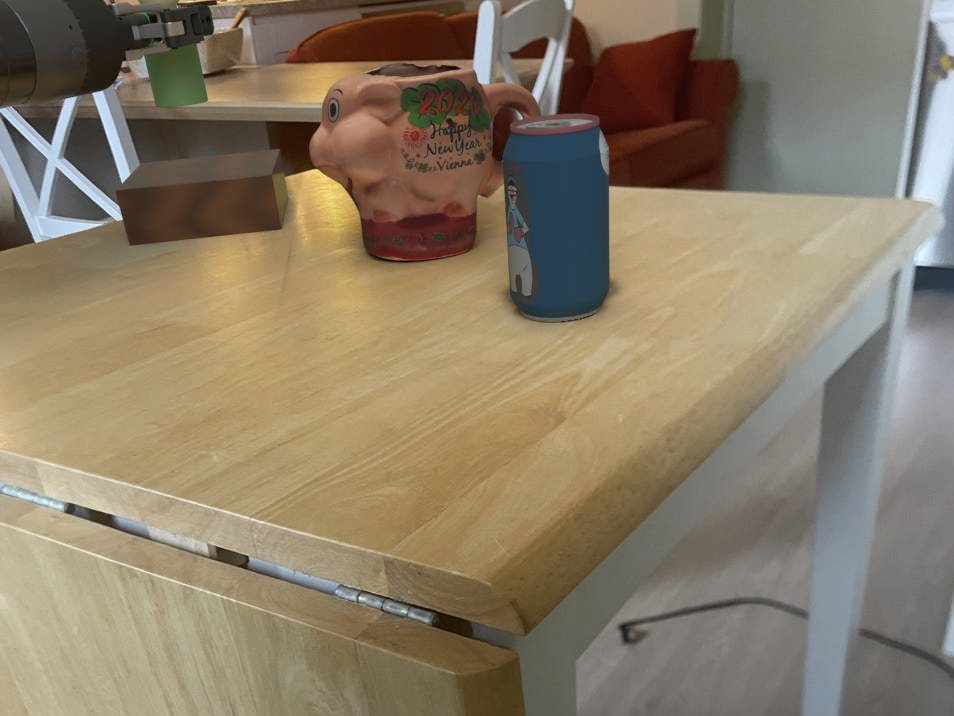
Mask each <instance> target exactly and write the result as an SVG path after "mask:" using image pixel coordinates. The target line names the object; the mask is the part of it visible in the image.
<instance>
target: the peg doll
mask: <svg viewBox="0 0 954 716" xmlns="http://www.w3.org/2000/svg"><path fill="white" fill-rule="evenodd" d="M137 2H138V3H139V4H147V3H160V4H161V5H162V6H163V8H164V9H168V8H175V7H174V6H176V5H179V3H180V0H137ZM135 14H144V15H145V16H146V17H147V18H148V20H149V16H148V15H147V13H145V12H139V13H135ZM149 24H150V20H149ZM153 42H154V38H152V42H151V43H150V44H149V45H148V46H151V45H152V44H153ZM143 58H144V62H145V66H146V71H147V74H148V79H149V83H150V89H151V92H152V97H153V100H154V105H155V107H156V108H178V107H179V108H180V107H186V106H187V107H188V106H193V105H200V104H203V103H207V102H208V101H209V97H208V93H207V87H206V82H205V77H204V72H203V68H202V63H201V58H200V53H199V48H198V43H197V44H195V43H193V44H189V45H185V46H181V47H178V49H172V48H171V50H170V51H168V52H161V53H155V54H148V55H144V56H143Z"/></svg>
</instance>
